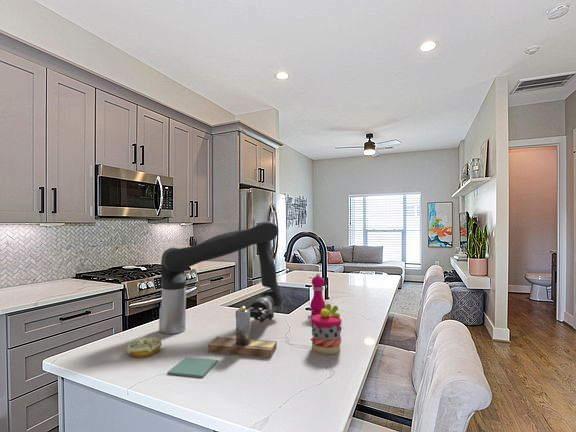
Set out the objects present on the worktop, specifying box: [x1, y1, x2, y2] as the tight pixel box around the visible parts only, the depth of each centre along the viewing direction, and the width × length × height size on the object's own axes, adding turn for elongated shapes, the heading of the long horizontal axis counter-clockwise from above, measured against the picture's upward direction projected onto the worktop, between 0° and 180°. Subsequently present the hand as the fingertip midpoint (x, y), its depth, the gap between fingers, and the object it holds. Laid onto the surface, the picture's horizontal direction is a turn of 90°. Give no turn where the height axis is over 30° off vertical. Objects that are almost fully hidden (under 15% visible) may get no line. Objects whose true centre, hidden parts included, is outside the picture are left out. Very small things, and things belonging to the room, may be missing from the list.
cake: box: [310, 303, 342, 356], centre depth 115 cm, size 10×10×15 cm
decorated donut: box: [126, 336, 162, 359], centre depth 111 cm, size 10×11×4 cm
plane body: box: [207, 336, 278, 359], centre depth 113 cm, size 22×8×3 cm, turn 79°
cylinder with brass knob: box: [235, 305, 251, 346], centre depth 113 cm, size 5×5×13 cm
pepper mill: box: [309, 272, 326, 317], centre depth 158 cm, size 7×7×20 cm
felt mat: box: [167, 356, 219, 379], centre depth 99 cm, size 11×11×1 cm
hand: (249, 319), depth 121 cm, fingers open, 8 cm apart
